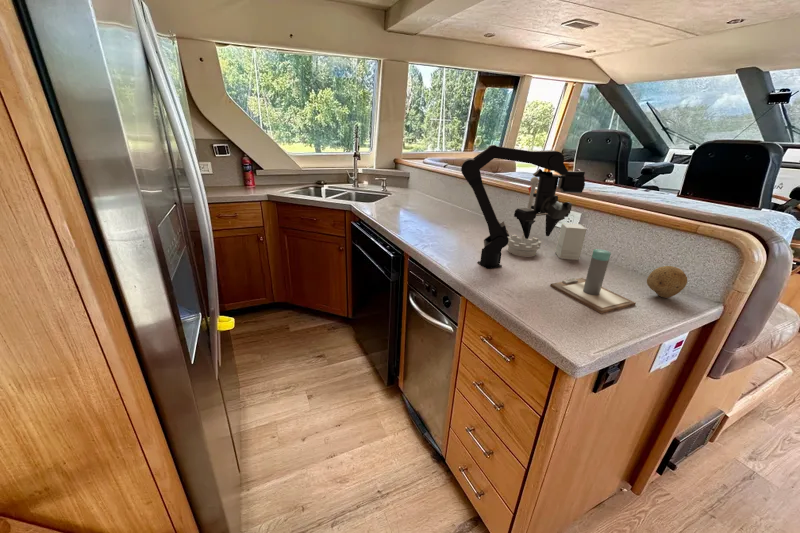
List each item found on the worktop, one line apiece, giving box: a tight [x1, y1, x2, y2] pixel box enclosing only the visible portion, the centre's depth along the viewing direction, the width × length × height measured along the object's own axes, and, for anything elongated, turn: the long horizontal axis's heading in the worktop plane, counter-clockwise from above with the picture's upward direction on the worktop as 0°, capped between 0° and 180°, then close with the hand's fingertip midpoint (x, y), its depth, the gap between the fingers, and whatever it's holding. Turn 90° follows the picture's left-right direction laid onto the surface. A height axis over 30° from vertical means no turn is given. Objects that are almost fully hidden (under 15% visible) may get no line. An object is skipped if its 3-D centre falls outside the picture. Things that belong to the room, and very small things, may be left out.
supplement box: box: [554, 222, 588, 261], centre depth 128 cm, size 7×7×13 cm
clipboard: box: [549, 277, 636, 314], centre depth 99 cm, size 14×18×1 cm
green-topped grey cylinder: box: [583, 248, 612, 295], centre depth 96 cm, size 4×4×13 cm
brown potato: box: [646, 265, 688, 299], centre depth 97 cm, size 9×9×10 cm
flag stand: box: [506, 176, 542, 258], centre depth 128 cm, size 13×13×30 cm
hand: (537, 237), depth 112 cm, fingers open, 9 cm apart
